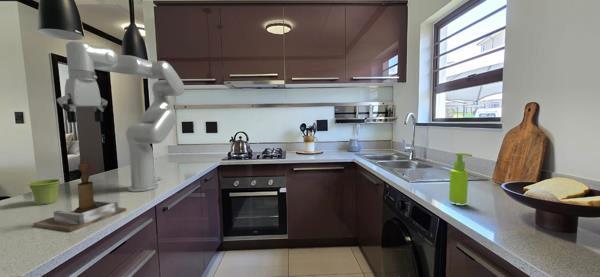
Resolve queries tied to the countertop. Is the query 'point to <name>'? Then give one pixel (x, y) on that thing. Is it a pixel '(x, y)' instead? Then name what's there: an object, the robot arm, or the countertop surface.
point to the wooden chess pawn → (85, 191)
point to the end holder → (80, 217)
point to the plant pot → (45, 191)
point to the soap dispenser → (459, 181)
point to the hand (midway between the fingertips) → (86, 122)
